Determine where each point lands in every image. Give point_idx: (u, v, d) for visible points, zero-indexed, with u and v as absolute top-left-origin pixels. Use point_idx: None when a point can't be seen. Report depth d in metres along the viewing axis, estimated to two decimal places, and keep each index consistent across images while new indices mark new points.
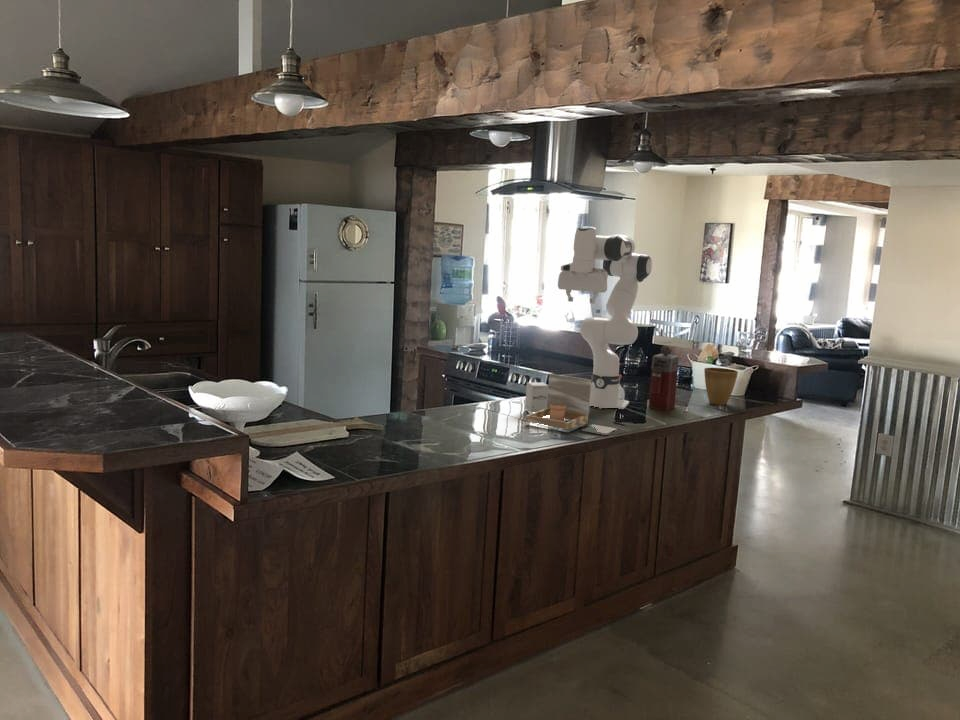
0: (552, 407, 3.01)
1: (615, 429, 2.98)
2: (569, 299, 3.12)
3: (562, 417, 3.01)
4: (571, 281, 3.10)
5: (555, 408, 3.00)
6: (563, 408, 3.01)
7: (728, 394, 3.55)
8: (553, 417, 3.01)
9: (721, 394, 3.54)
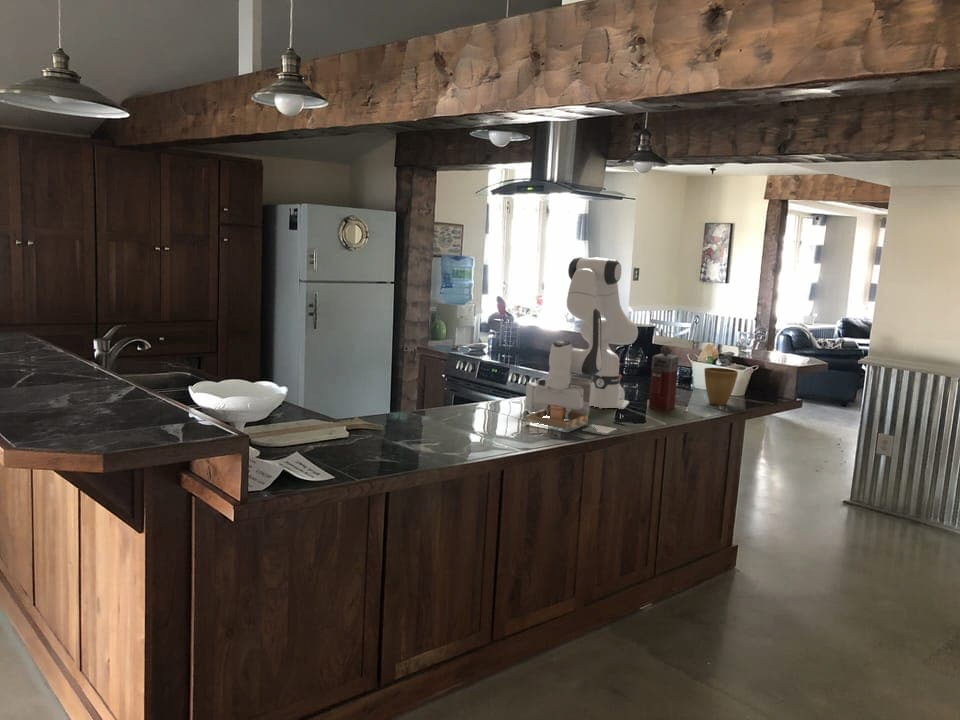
0: (552, 407, 3.01)
1: (615, 429, 2.98)
2: (548, 414, 3.05)
3: (562, 417, 3.01)
4: (546, 396, 3.03)
5: (555, 408, 3.00)
6: (563, 408, 3.01)
7: (728, 394, 3.55)
8: (553, 417, 3.01)
9: (721, 394, 3.54)
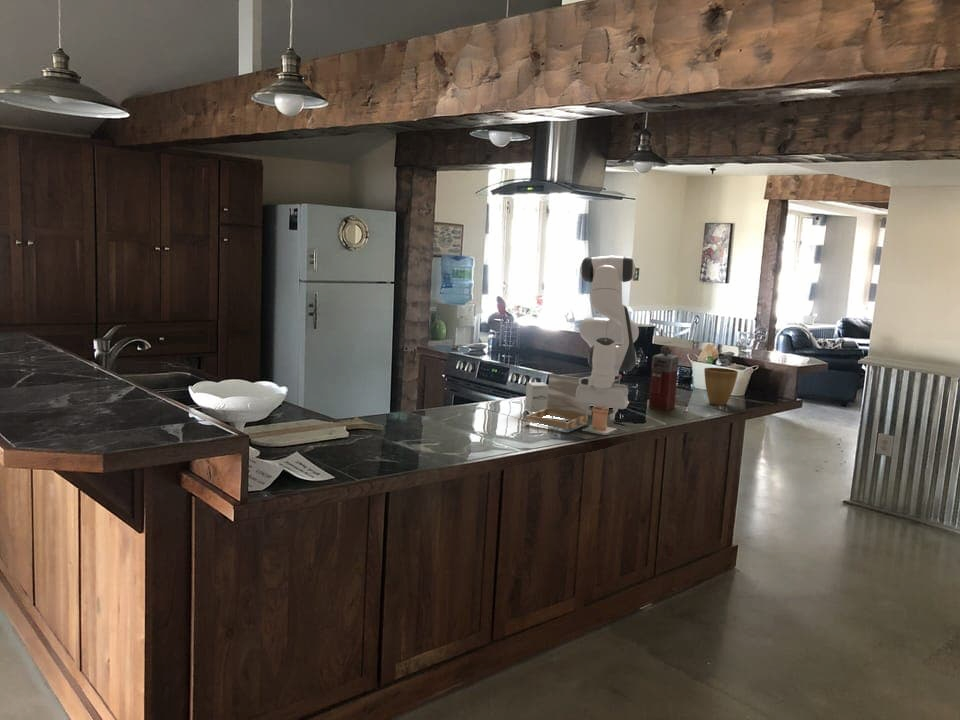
0: (595, 410, 2.94)
1: (615, 429, 2.98)
2: (587, 413, 2.98)
3: (605, 420, 2.94)
4: (589, 395, 2.96)
5: (598, 411, 2.93)
6: (606, 411, 2.93)
7: (728, 394, 3.55)
8: (595, 421, 2.94)
9: (721, 394, 3.54)
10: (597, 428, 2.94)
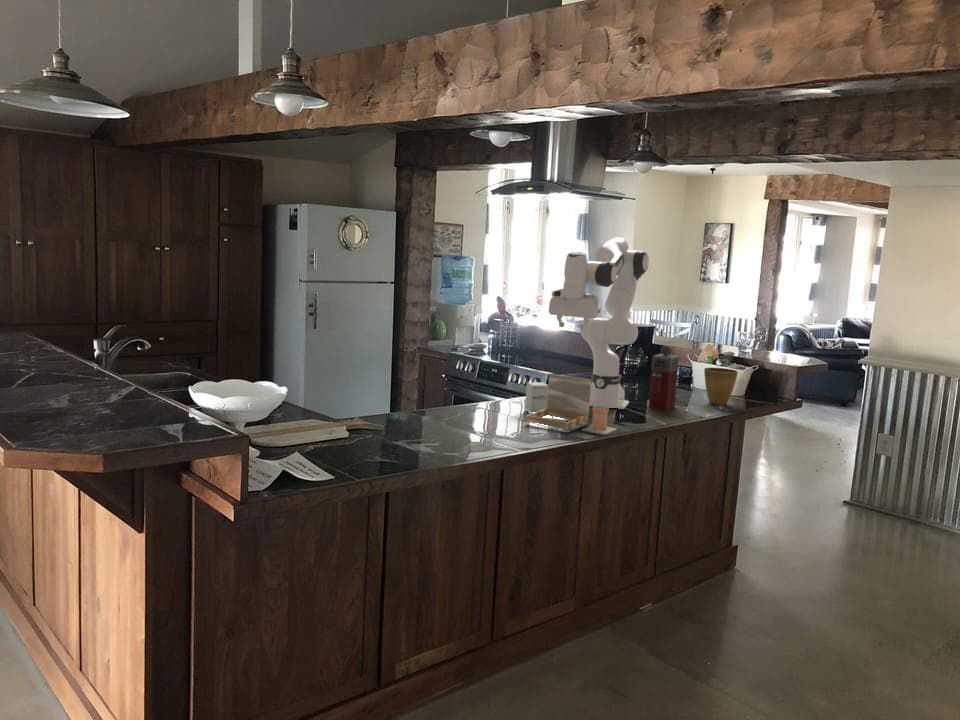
0: (595, 410, 2.94)
1: (615, 429, 2.98)
2: (560, 324, 3.12)
3: (605, 420, 2.94)
4: (561, 307, 3.10)
5: (598, 411, 2.93)
6: (606, 411, 2.93)
7: (728, 394, 3.55)
8: (595, 421, 2.94)
9: (721, 394, 3.54)
10: (597, 428, 2.94)
